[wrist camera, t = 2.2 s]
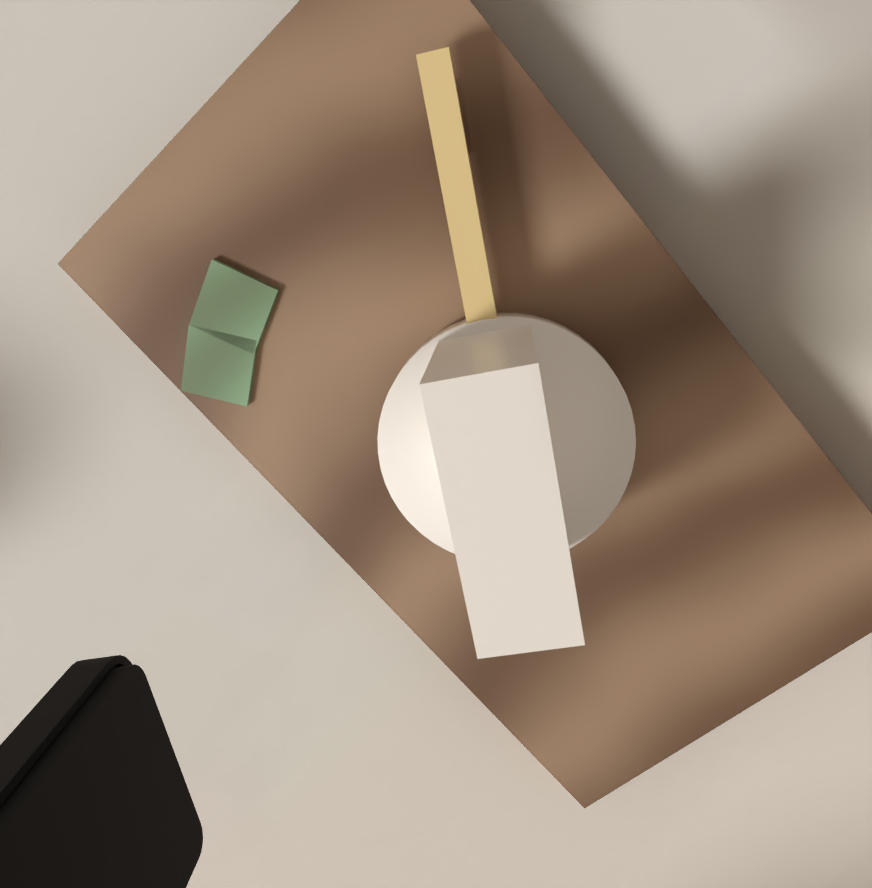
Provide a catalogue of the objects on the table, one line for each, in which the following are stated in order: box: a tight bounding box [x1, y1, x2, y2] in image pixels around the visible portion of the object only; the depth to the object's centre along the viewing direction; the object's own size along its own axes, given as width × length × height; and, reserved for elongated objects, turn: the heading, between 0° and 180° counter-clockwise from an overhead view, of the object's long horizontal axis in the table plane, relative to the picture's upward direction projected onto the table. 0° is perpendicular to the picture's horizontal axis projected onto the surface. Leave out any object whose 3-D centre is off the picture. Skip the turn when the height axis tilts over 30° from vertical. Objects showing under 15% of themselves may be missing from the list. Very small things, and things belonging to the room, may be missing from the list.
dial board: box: [58, 0, 872, 808], centre depth 23 cm, size 24×13×2 cm, turn 42°
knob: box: [377, 47, 636, 659], centre depth 18 cm, size 14×7×6 cm, turn 12°
